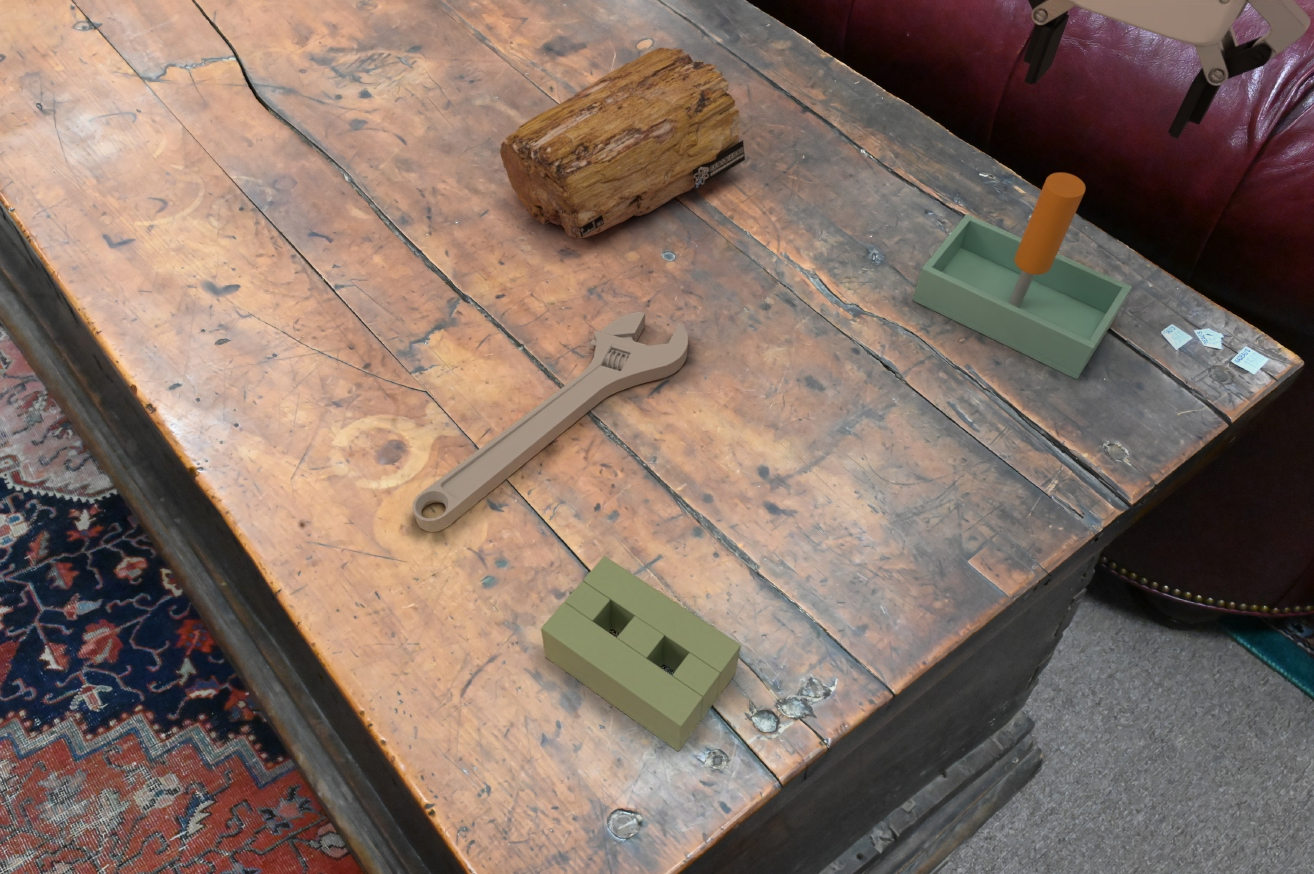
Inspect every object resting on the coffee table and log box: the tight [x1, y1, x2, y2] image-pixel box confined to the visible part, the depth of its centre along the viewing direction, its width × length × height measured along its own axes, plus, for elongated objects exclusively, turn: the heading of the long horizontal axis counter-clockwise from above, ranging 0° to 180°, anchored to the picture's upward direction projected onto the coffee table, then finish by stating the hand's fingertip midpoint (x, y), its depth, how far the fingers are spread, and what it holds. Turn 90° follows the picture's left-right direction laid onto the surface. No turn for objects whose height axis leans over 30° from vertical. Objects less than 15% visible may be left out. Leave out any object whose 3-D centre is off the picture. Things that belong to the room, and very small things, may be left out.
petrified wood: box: [499, 47, 746, 240], centre depth 87 cm, size 19×13×10 cm
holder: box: [540, 555, 742, 752], centre depth 61 cm, size 6×10×4 cm, turn 54°
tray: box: [912, 213, 1133, 380], centre depth 81 cm, size 8×14×4 cm, turn 54°
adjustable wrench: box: [411, 311, 689, 533], centre depth 74 cm, size 25×6×2 cm, turn 132°
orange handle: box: [1009, 172, 1086, 307], centre depth 77 cm, size 3×3×12 cm
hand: (1106, 100), depth 66 cm, fingers open, 9 cm apart
